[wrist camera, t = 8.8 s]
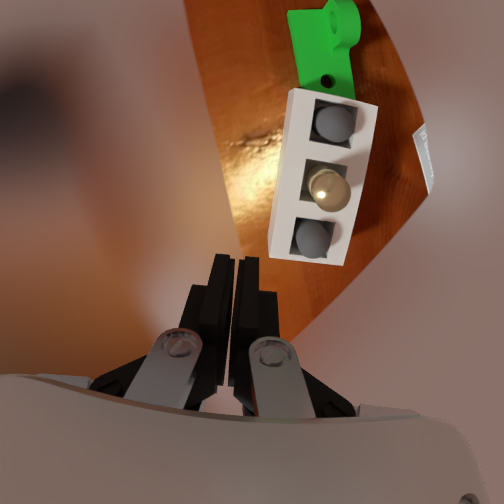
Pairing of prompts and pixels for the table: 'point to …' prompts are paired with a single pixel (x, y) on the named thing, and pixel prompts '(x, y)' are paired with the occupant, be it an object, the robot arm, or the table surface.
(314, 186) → the brass knob
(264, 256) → the table surface
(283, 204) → the white peg holder block
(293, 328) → the table surface
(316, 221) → the far knob
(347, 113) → the near knob
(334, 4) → the mechanical part
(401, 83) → the table surface
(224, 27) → the table surface
